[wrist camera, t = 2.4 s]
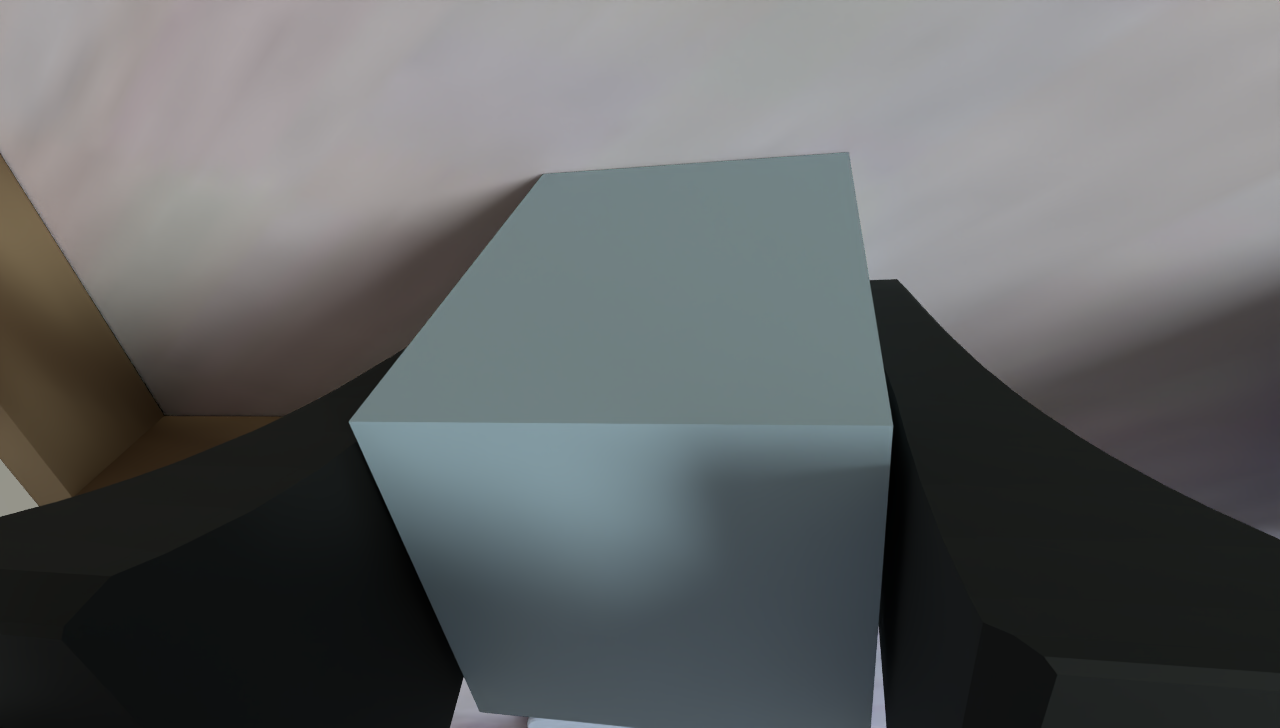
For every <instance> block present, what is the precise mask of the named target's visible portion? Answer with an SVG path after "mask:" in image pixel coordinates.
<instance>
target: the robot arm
mask: <svg viewBox="0 0 1280 728" xmlns="http://www.w3.org/2000/svg"><path fill="white" fill-rule="evenodd" d="M869 281H870V287H871V293H872V299H873V305H874V311H875V317H876V324H877V330H878V336H879V342H880V348H881V354H882V360H883V367H884V373H885V379H886V385H887V391H888V397H889V403H890V409H891V416H892V422H893V435H892V448H891V462H890V475H889V488H888V502H887V515H886V529H885V542H884V555H883V569H882V582H881V596H880V609H879V623H878V624H879V635H880V648H881V660H882V673H883V686H884V698H885V712H886V726H887V728H1280V539H1277V538H1275V537H1273V536H1271V535H1269V534H1266V533H1264V532H1262V531H1260V530H1257V529H1255V528H1253V527H1251V526H1249V525H1246V524H1244V523H1242V522H1240V521H1238V520H1235V519H1233V518H1231V517H1229V516H1227V515H1224V514H1222V513H1220V512H1218V511H1216V510H1213V509H1211V508H1209V507H1207V506H1205V505H1203V504H1201V503H1199V502H1197V501H1195V500H1193V499H1191V498H1189V497H1187V496H1185V495H1183V494H1181V493H1179V492H1177V491H1175V490H1173V489H1171V488H1169V487H1167V486H1165V485H1163V484H1161V483H1159V482H1158V481H1156V480H1154V479H1152V478H1150V477H1148V476H1147V475H1145V474H1143V473H1141V472H1139V471H1138V470H1136V469H1134V468H1132V467H1130V466H1128V465H1127V464H1125V463H1123V462H1121V461H1119V460H1118V459H1116V458H1114V457H1112V456H1110V455H1109V454H1107V453H1105V452H1104V451H1102V450H1100V449H1099V448H1097V447H1095V446H1094V445H1092V444H1090V443H1089V442H1087V441H1085V440H1084V439H1082V438H1080V437H1079V436H1077V435H1076V434H1074V433H1073V432H1071V431H1070V430H1068V429H1067V428H1065V427H1064V426H1062V425H1061V424H1059V423H1058V422H1056V421H1055V420H1053V419H1052V418H1050V417H1049V416H1047V415H1046V414H1044V413H1043V412H1041V411H1040V410H1038V409H1037V408H1036V407H1034V406H1033V405H1031V404H1030V403H1029V402H1027V401H1026V400H1025V399H1023V398H1022V397H1020V396H1019V395H1018V394H1017V393H1015V392H1014V391H1013V390H1011V389H1010V388H1009V387H1008V386H1007V385H1005V384H1004V383H1003V382H1002V381H1000V380H999V379H998V378H997V377H995V376H994V375H993V374H992V373H991V372H989V371H988V370H987V369H986V368H984V367H983V366H982V365H981V364H980V363H979V362H978V361H976V360H975V359H974V358H973V357H972V356H971V355H970V354H969V353H968V352H967V351H966V350H965V349H964V348H963V347H962V346H961V345H960V344H959V343H957V342H956V341H955V340H954V339H953V338H952V337H951V336H950V335H949V334H948V333H947V332H946V331H945V330H944V329H943V328H942V327H941V326H940V325H939V324H938V323H937V322H936V320H935V319H934V318H933V317H932V316H931V315H930V314H929V313H928V312H927V311H926V310H925V309H924V308H923V307H922V306H921V304H920V303H919V302H918V301H917V300H916V299H915V298H914V297H913V296H912V294H911V293H910V292H909V291H908V290H907V289H906V288H905V287H904V286H903V285H902V284H901V283H900V282H899V281H898V280H897V279H893V280H869ZM406 348H407V347H406ZM406 348H405V349H406ZM405 349H403V350H402V351H400V352H398V353H397V354H395V355H394V356H392V357H390V358H389V359H387V360H385V361H384V362H382V363H380V364H379V365H377V366H375V367H373V368H372V369H370V370H368V371H367V372H365V373H363V374H362V375H360V376H358V377H357V378H355V379H353V380H351V381H350V382H348V383H346V384H345V385H343V386H341V387H340V388H338V389H336V390H334V391H333V392H331V393H329V394H327V395H325V396H323V397H321V398H320V399H318V400H316V401H314V402H312V403H310V404H308V405H306V406H304V407H302V408H300V409H298V410H296V411H294V412H292V413H290V414H288V415H286V416H284V417H282V418H280V419H277V420H275V421H273V422H271V423H269V424H267V425H265V426H263V427H261V428H258V429H256V430H254V431H252V432H249V433H247V434H244V435H242V436H239V437H237V438H235V439H232V440H230V441H227V442H225V443H222V444H220V445H218V446H215V447H213V448H210V449H208V450H205V451H203V452H200V453H198V454H196V455H193V456H191V457H188V458H186V459H183V460H181V461H178V462H176V463H173V464H170V465H167V466H165V467H162V468H159V469H156V470H153V471H150V472H148V473H145V474H142V475H139V476H136V477H133V478H130V479H127V480H124V481H121V482H118V483H115V484H112V485H109V486H106V487H103V488H100V489H97V490H93V491H90V492H87V493H84V494H81V495H77V496H74V497H71V498H67V499H64V500H61V501H57V502H54V503H50V504H46V505H43V506H39V507H35V508H31V509H28V510H24V511H20V512H17V513H13V514H9V515H6V516H2V517H0V728H450V725H451V721H452V718H453V714H454V710H455V707H456V703H457V699H458V696H459V692H460V688H461V685H462V681H463V677H464V676H463V673H462V671H461V669H460V667H459V665H458V662H457V660H456V658H455V656H454V654H453V651H452V649H451V647H450V645H449V642H448V640H447V638H446V636H445V634H444V631H443V629H442V627H441V625H440V623H439V620H438V618H437V616H436V614H435V612H434V609H433V607H432V605H431V603H430V601H429V598H428V596H427V594H426V592H425V589H424V587H423V585H422V583H421V581H420V578H419V576H418V574H417V572H416V570H415V567H414V565H413V563H412V561H411V559H410V556H409V554H408V552H407V550H406V547H405V545H404V543H403V541H402V539H401V536H400V534H399V532H398V530H397V528H396V525H395V523H394V521H393V519H392V517H391V514H390V512H389V510H388V508H387V505H386V503H385V501H384V499H383V497H382V494H381V492H380V490H379V488H378V486H377V483H376V481H375V479H374V477H373V475H372V472H371V470H370V468H369V466H368V463H367V461H366V459H365V457H364V455H363V452H362V450H361V448H360V446H359V444H358V441H357V439H356V437H355V435H354V433H353V430H352V428H351V426H350V424H349V420H350V419H351V418H352V417H353V415H354V414H355V413H356V412H357V410H358V409H359V408H360V406H361V405H362V404H363V403H364V401H365V400H366V399H367V398H368V396H369V395H370V394H371V392H372V391H373V390H374V389H375V387H376V386H377V385H378V384H379V382H380V381H381V380H382V378H383V377H384V376H385V375H386V373H387V372H388V371H389V370H390V368H391V367H392V366H393V364H394V363H395V362H396V361H397V359H398V358H399V357H400V356H401V354H402V353H403V352H404V350H405ZM527 727H528V728H632V727H622V726H612V725H602V724H593V723H583V722H573V721H563V720H553V719H543V718H533V717H529V719H528V722H527Z"/></svg>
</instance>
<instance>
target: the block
mask: <svg viewBox="0 0 1280 728" xmlns="http://www.w3.org/2000/svg"><path fill="white" fill-rule="evenodd" d="M349 424H350V426H351V428H352V430H353V433H354V435H355V437H356V439H357V441H358V444H359V446H360V448H361V450H362V452H363V455H364V457H365V459H366V461H367V463H368V466H369V468H370V470H371V472H372V475H373V477H374V479H375V481H376V483H377V486H378V488H379V490H380V492H381V494H382V497H383V499H384V501H385V503H386V505H387V508H388V510H389V512H390V514H391V517H392V519H393V521H394V523H395V525H396V528H397V530H398V532H399V534H400V536H401V539H402V541H403V543H404V545H405V547H406V550H407V552H408V554H409V556H410V559H411V561H412V563H413V565H414V567H415V570H416V572H417V574H418V576H419V578H420V581H421V583H422V585H423V587H424V589H425V592H426V594H427V596H428V598H429V601H430V603H431V605H432V607H433V609H434V612H435V614H436V616H437V618H438V620H439V623H440V625H441V627H442V629H443V631H444V634H445V636H446V638H447V640H448V642H449V645H450V647H451V649H452V651H453V654H454V656H455V658H456V660H457V662H458V665H459V667H460V669H461V671H462V673H463V676H464V678H465V680H466V682H467V684H468V687H469V689H470V691H471V693H472V696H473V698H474V700H475V702H476V704H477V707H478V709H479V711H480V712H484V713H494V714H504V715H514V716H523V717H533V718H543V719H553V720H563V721H573V722H583V723H593V724H602V725H612V726H622V727H632V728H871V716H872V703H873V690H874V676H875V663H876V649H877V636H878V623H879V609H880V596H881V582H882V569H883V555H884V542H885V529H886V515H887V502H888V488H889V475H890V462H891V448H892V435H893V422H892V416H891V409H890V403H889V397H888V391H887V385H886V379H885V373H884V367H883V360H882V354H881V348H880V342H879V336H878V330H877V324H876V317H875V311H874V305H873V299H872V293H871V287H870V281H869V274H868V268H867V262H866V256H865V250H864V244H863V238H862V232H861V225H860V219H859V213H858V207H857V201H856V195H855V189H854V182H853V176H852V170H851V164H850V158H849V152H846V153H832V154H817V155H803V156H789V157H775V158H761V159H747V160H733V161H719V162H705V163H691V164H677V165H663V166H649V167H635V168H621V169H607V170H593V171H579V172H565V173H551V174H543V175H542V176H541V177H540V179H539V180H538V181H537V182H536V184H535V185H534V186H533V187H532V189H531V190H530V191H529V193H528V194H527V195H526V196H525V198H524V199H523V200H522V202H521V203H520V204H519V205H518V207H517V208H516V209H515V210H514V212H513V213H512V214H511V216H510V217H509V218H508V219H507V221H506V222H505V223H504V224H503V226H502V227H501V228H500V230H499V231H498V232H497V233H496V235H495V236H494V237H493V238H492V240H491V241H490V242H489V244H488V245H487V246H486V247H485V249H484V250H483V251H482V252H481V254H480V255H479V256H478V258H477V259H476V260H475V261H474V263H473V264H472V265H471V266H470V268H469V269H468V270H467V272H466V273H465V274H464V275H463V277H462V278H461V279H460V280H459V282H458V283H457V284H456V286H455V287H454V288H453V289H452V291H451V292H450V293H449V294H448V296H447V297H446V298H445V300H444V301H443V302H442V303H441V305H440V306H439V307H438V308H437V310H436V311H435V312H434V314H433V315H432V316H431V317H430V319H429V320H428V321H427V322H426V324H425V325H424V326H423V328H422V329H421V330H420V331H419V333H418V334H417V335H416V336H415V338H414V339H413V340H412V342H411V343H410V344H409V345H408V347H407V348H406V349H405V350H404V352H403V353H402V354H401V356H400V357H399V358H398V359H397V361H396V362H395V363H394V364H393V366H392V367H391V368H390V370H389V371H388V372H387V373H386V375H385V376H384V377H383V378H382V380H381V381H380V382H379V384H378V385H377V386H376V387H375V389H374V390H373V391H372V392H371V394H370V395H369V396H368V398H367V399H366V400H365V401H364V403H363V404H362V405H361V406H360V408H359V409H358V410H357V412H356V413H355V414H354V415H353V417H352V418H351V419H350V420H349Z"/></svg>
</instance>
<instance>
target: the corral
mask: <svg viewBox="0 0 1280 728" xmlns="http://www.w3.org/2000/svg"><path fill="white" fill-rule="evenodd" d="M280 418H282V417H270V416H164V415H163V413H162V411H161V410H160V408H159V407H158V405H157V403H156V402H155V400H154V399H153V397H152V395H151V394H150V392H149V391H148V389H147V388H146V386H145V384H144V383H143V381H142V380H141V378H140V376H139V375H138V373H137V372H136V370H135V368H134V367H133V365H132V364H131V362H130V360H129V359H128V357H127V356H126V354H125V352H124V351H123V349H122V348H121V346H120V344H119V343H118V341H117V340H116V338H115V336H114V335H113V333H112V332H111V330H110V329H109V327H108V325H107V324H106V322H105V321H104V319H103V317H102V316H101V314H100V313H99V311H98V309H97V308H96V306H95V305H94V303H93V301H92V300H91V298H90V297H89V295H88V293H87V292H86V290H85V289H84V287H83V285H82V284H81V282H80V281H79V279H78V277H77V276H76V274H75V273H74V271H73V270H72V268H71V266H70V265H69V263H68V262H67V260H66V258H65V257H64V255H63V254H62V252H61V250H60V249H59V247H58V246H57V244H56V242H55V241H54V239H53V238H52V236H51V234H50V233H49V231H48V230H47V228H46V226H45V225H44V223H43V222H42V220H41V218H40V217H39V215H38V214H37V212H36V210H35V209H34V207H33V206H32V204H31V203H30V201H29V199H28V198H27V196H26V195H25V193H24V191H23V190H22V188H21V187H20V185H19V183H18V182H17V180H16V179H15V177H14V175H13V174H12V172H11V171H10V169H9V167H8V166H7V164H6V163H5V161H4V159H3V158H2V156H1V155H0V459H1V460H2V462H3V463H4V464H5V465H6V466H7V468H8V469H9V470H10V471H11V473H12V474H13V475H14V476H15V477H16V479H17V480H18V481H19V482H20V484H21V485H22V486H23V487H24V488H25V490H26V491H27V492H28V493H29V495H30V496H31V497H32V498H33V499H34V501H35V502H36V503H37V504H38V506H43V505H46V504H50V503H54V502H57V501H61V500H64V499H67V498H71V497H74V496H77V495H81V494H84V493H87V492H90V491H93V490H97V489H100V488H103V487H106V486H109V485H112V484H115V483H118V482H121V481H124V480H127V479H130V478H133V477H136V476H139V475H142V474H145V473H148V472H150V471H153V470H156V469H159V468H162V467H165V466H167V465H170V464H173V463H176V462H178V461H181V460H183V459H186V458H188V457H191V456H193V455H196V454H198V453H200V452H203V451H205V450H208V449H210V448H213V447H215V446H218V445H220V444H222V443H225V442H227V441H230V440H232V439H235V438H237V437H239V436H242V435H244V434H247V433H249V432H252V431H254V430H256V429H258V428H261V427H263V426H265V425H267V424H269V423H271V422H273V421H275V420H277V419H280Z"/></svg>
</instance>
